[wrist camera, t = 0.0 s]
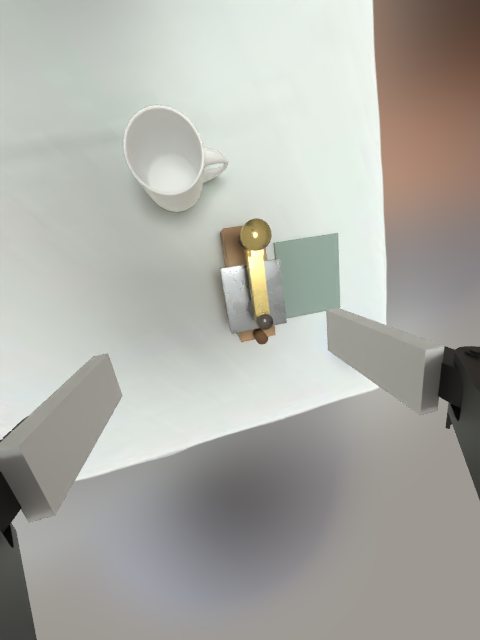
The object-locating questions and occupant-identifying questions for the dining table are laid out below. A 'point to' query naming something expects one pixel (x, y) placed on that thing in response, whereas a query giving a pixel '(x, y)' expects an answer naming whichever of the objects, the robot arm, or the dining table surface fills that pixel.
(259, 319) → the lever
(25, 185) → the dining table surface
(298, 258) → the mat
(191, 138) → the mug
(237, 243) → the plane body
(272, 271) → the grey knob plate
